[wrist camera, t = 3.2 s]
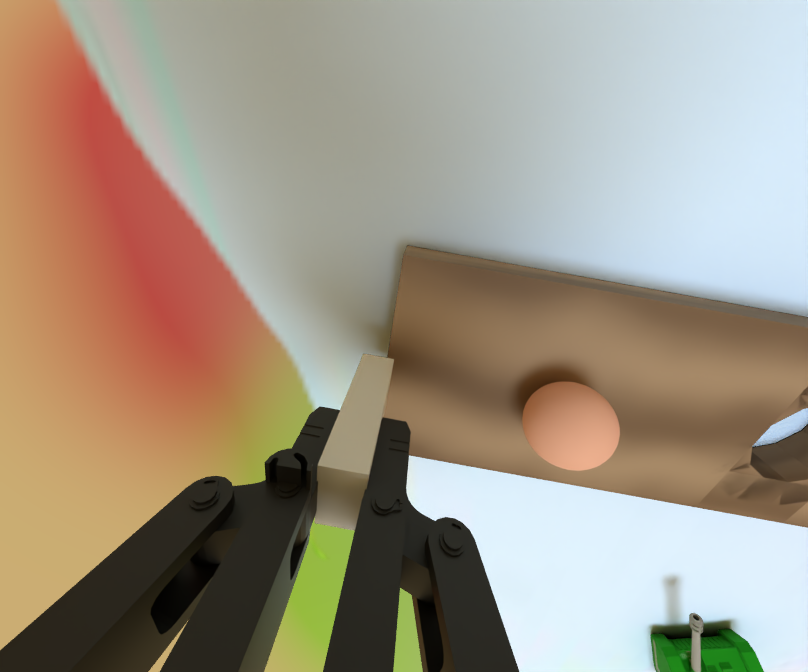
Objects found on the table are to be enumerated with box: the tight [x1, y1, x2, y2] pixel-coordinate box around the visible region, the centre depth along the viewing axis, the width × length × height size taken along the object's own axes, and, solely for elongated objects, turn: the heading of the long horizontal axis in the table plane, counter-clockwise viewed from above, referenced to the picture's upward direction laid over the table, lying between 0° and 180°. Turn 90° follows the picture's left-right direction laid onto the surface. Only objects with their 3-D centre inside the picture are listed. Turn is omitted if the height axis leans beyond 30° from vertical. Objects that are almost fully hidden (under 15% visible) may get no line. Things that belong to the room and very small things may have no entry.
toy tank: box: [651, 613, 764, 672], centre depth 27 cm, size 7×19×5 cm, turn 21°
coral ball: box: [522, 381, 620, 471], centre depth 14 cm, size 4×4×4 cm
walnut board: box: [384, 245, 808, 527], centre depth 17 cm, size 12×30×2 cm, turn 81°
